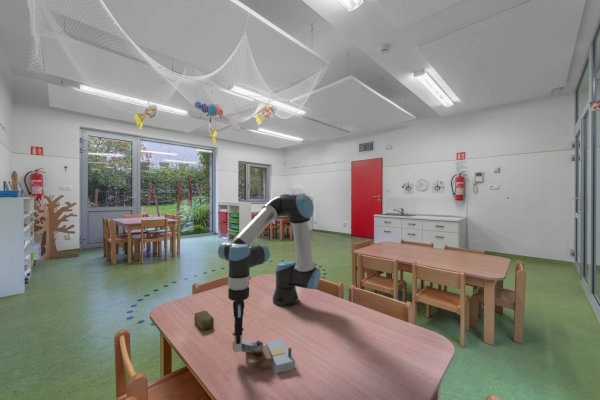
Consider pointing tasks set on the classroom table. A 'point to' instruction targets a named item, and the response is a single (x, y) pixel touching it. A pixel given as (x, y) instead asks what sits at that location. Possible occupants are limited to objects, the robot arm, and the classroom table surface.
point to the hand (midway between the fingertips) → (237, 350)
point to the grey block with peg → (280, 355)
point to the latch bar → (252, 347)
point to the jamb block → (258, 361)
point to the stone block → (204, 320)
